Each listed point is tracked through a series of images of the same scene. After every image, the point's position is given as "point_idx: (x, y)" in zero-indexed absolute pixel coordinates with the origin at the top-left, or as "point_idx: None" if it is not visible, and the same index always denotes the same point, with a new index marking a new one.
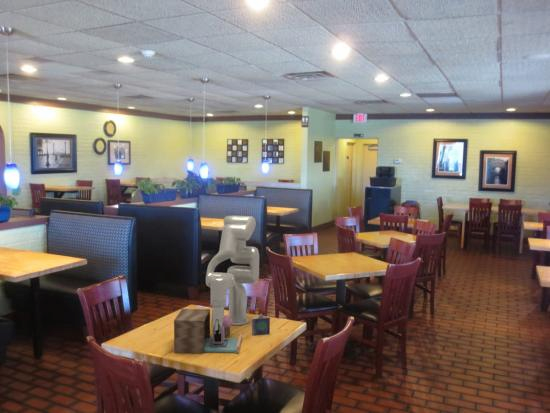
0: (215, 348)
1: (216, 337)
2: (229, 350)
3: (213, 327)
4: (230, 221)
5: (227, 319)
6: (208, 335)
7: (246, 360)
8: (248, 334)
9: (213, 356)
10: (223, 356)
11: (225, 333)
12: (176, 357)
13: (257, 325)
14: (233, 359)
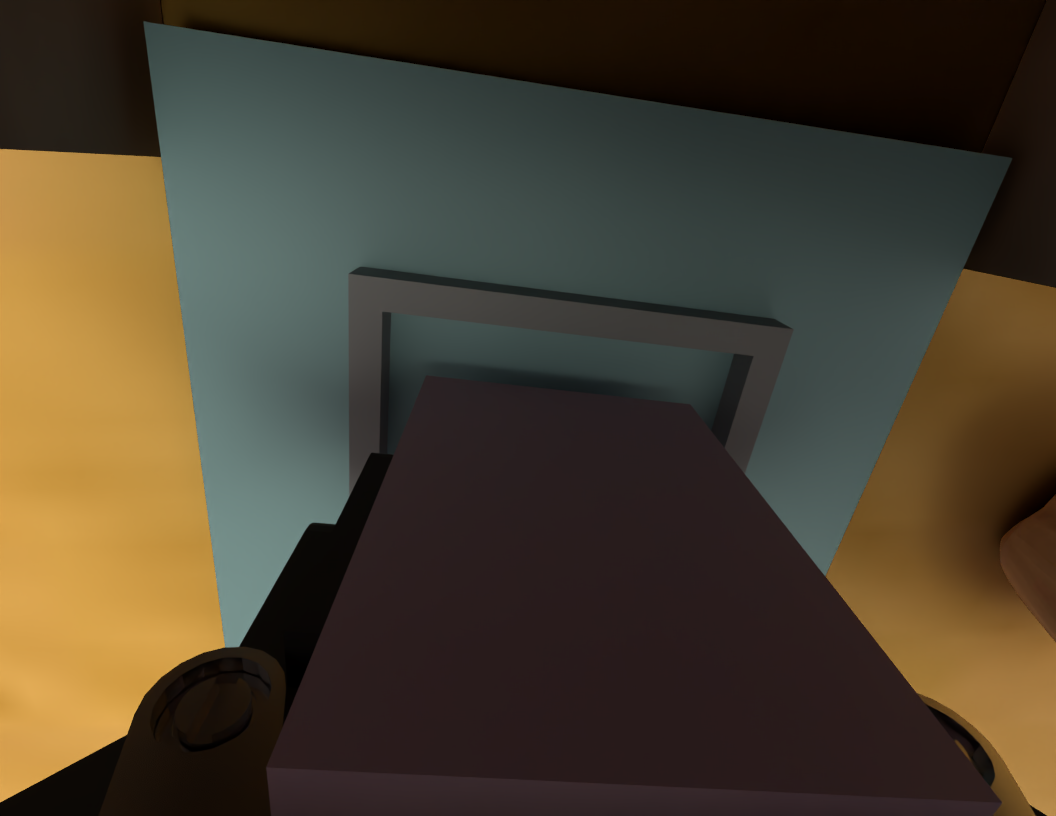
0: (284, 418)
1: (284, 593)
2: (225, 645)
3: (639, 789)
4: None
5: None
6: (1050, 238)
7: (23, 787)
8: None
9: (30, 365)
10: (80, 531)
11: (1028, 593)
12: None
13: None
14: (3, 660)
